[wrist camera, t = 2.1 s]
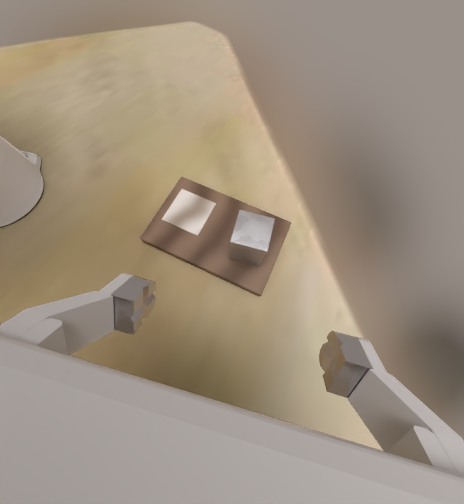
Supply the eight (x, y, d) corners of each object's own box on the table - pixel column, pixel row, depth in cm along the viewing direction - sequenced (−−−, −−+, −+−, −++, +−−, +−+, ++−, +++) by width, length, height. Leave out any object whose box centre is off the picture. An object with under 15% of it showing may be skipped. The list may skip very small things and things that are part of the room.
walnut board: (143, 241, 37) (124, 221, 30) (183, 181, 42) (174, 151, 35) (259, 296, 35) (268, 288, 28) (288, 226, 39) (303, 204, 32)
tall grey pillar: (228, 259, 35) (230, 241, 28) (236, 232, 37) (239, 209, 30) (258, 267, 35) (267, 251, 28) (264, 239, 37) (274, 218, 30)
